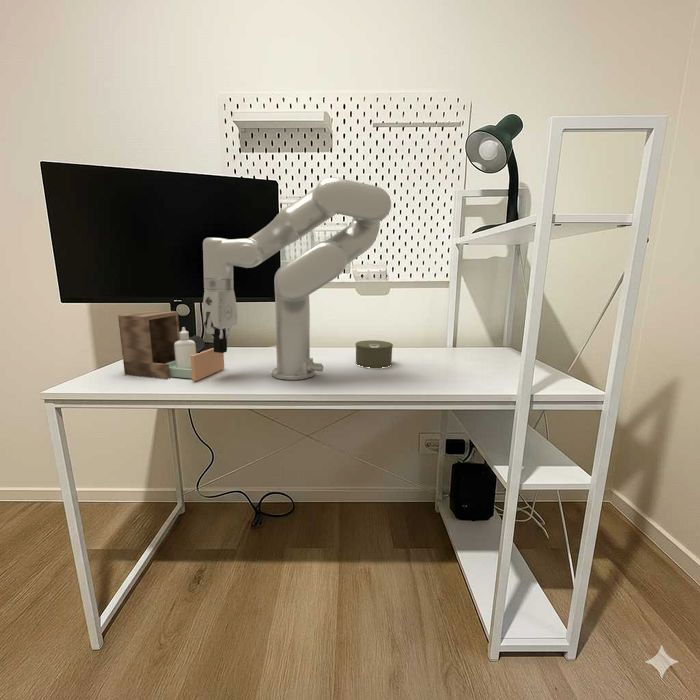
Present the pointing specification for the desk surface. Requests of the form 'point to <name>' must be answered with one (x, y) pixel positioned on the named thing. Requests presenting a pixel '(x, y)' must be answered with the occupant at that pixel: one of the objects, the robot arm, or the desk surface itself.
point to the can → (374, 353)
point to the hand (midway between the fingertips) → (220, 351)
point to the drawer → (199, 365)
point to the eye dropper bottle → (184, 350)
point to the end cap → (197, 342)
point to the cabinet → (148, 342)
